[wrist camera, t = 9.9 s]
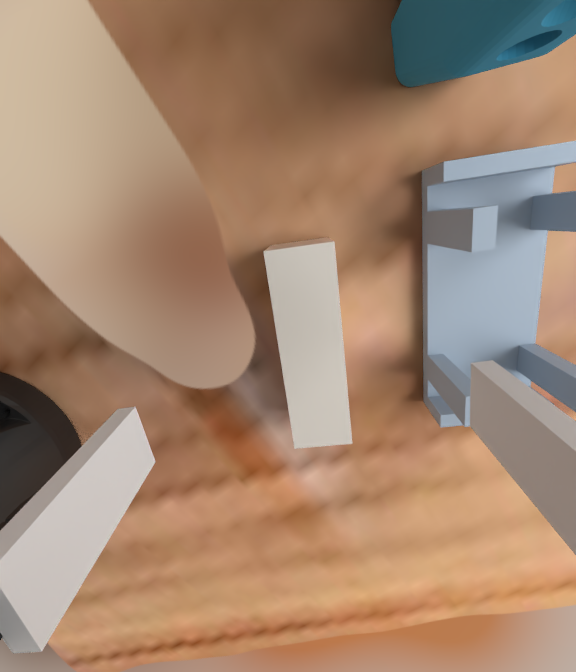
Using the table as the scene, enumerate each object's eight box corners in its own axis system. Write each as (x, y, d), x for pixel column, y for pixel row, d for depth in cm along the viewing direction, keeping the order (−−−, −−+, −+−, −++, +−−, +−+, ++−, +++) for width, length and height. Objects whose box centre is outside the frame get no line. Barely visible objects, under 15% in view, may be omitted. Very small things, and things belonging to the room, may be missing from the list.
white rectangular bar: (343, 405, 27) (352, 443, 23) (295, 409, 28) (294, 448, 23) (327, 236, 23) (334, 241, 18) (271, 244, 23) (263, 251, 19)
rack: (520, 392, 26) (594, 450, 19) (423, 401, 27) (463, 461, 20) (545, 151, 20) (660, 119, 14) (421, 170, 21) (475, 148, 15)
